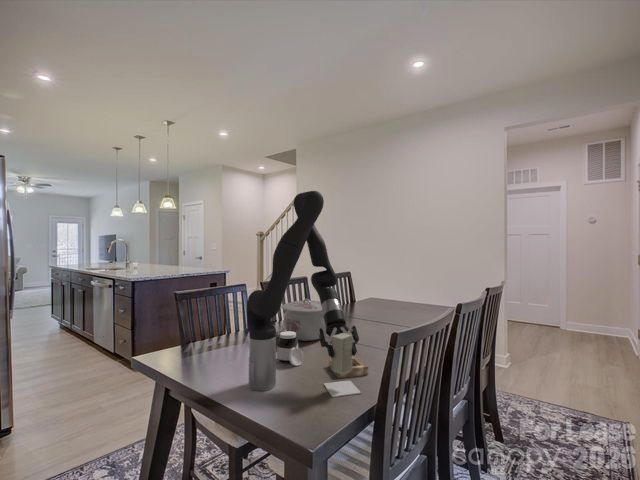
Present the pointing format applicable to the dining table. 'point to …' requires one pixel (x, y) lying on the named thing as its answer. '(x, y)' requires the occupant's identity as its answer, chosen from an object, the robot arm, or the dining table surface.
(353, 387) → the mat
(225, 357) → the dining table surface
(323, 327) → the chamber pot
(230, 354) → the dining table surface
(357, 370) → the holder collar
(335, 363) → the skincare box
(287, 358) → the spread jar
